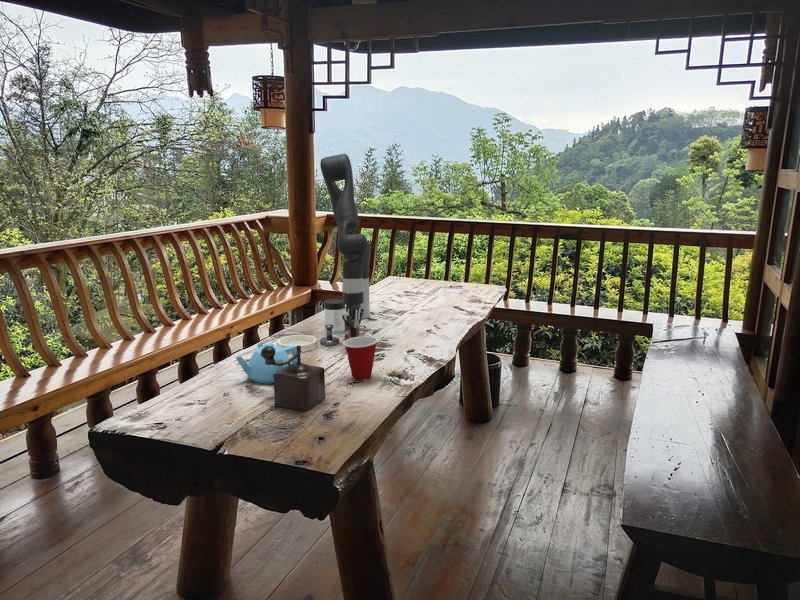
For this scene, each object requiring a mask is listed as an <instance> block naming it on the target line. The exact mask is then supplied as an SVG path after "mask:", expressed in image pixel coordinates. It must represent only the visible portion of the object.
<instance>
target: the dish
mask: <svg viewBox="0 0 800 600" xmlns="http://www.w3.org/2000/svg"><path fill="white" fill-rule="evenodd" d="M293 345H295V346H296V347H297V345H300V346H301V349H300V350H301V352H304V351H309V350H312V349H314V350H316V349H317V348H316V347H318V338H317V337H315V336H313V335H307V334H292V335H286V336H282V337H280V338H278V339H277V340H276V346H279V347H281V348H283V349H284V348H287V347H290V346H293ZM315 348H316V349H315ZM312 351H313V350H312ZM309 352H310V351H309ZM304 353H305V352H304ZM288 354H292V351H291V352H289V353H288Z"/></svg>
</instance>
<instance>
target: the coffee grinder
mask: <svg viewBox="0 0 800 600" xmlns="http://www.w3.org/2000/svg"><path fill="white" fill-rule="evenodd" d="M296 348H297V351H296V354H295V355H294V356H293V355H292V356H291V357H289V358H290V359H289V360H287V361H285V362H282V363H275V361H276V360H275V359H274V355H275V352H276V351H275V349H274V348H273V347H270V346H267V347H264V348H263V349H262V350H261V354H260V355H261V357H263V358H264V359H265V364H266V365H275V366H283V365H286V364H288V365H287V366H285V367H283V368H282V370H280V371H278V372H276V373H274V374H273V377H274V383H273V393H274V395H273V396H274V406H276V407H277V408H281V409H286V410H291V411H295V412H296V411H297V412H303V411H305V413H306V411H307V412H308V410H309V411H310V410H311V409H314V408H315V407H316V406H317V405H319V404H320V403H322V402H323V401H324V400H325V399H326V384H325V383H326V379H325V367H322V366H315V365H311V364H306V363H305V362H304V363H303V362H302V358H301V354H302V353H301V350H300V349H301V346H300V345H297V347H296ZM295 358H297V362H296V363H293V364H290V362H291V361H293V360H294V359H295ZM300 358H301V359H300Z"/></svg>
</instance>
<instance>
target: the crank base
mask: <svg viewBox="0 0 800 600" xmlns="http://www.w3.org/2000/svg"><path fill="white" fill-rule="evenodd" d="M325 328H326V329H327V333H326V337H321V338H320V339H319V344H321V346H322V345H324V346H323V347H334V346H333V345H335V346H338V345H339V344H340V338H339V337H336V336H333V333H332V328H334V325H331V324H328V325H325V324H324V329H325ZM337 344H338V345H337Z"/></svg>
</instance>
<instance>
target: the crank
mask: <svg viewBox="0 0 800 600" xmlns="http://www.w3.org/2000/svg"><path fill="white" fill-rule="evenodd" d="M360 333H361V332H360V331H357V337H361V334H360ZM333 335H334V336H336V335H337V336H339V335H341V336H342V335H343V336H345V335H348V336H349V339H350V338H352V337H350V331H349V330H345V331H333V333H332V336H333Z"/></svg>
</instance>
